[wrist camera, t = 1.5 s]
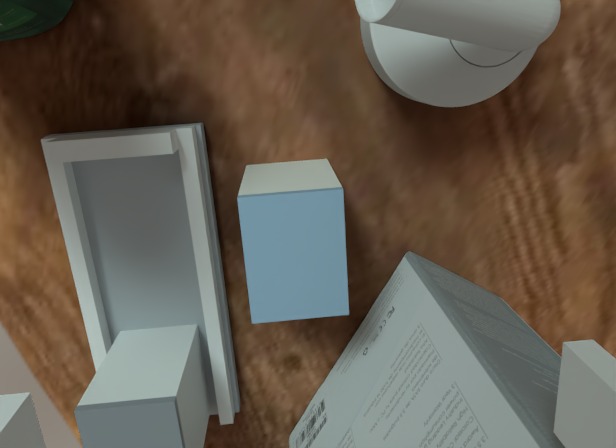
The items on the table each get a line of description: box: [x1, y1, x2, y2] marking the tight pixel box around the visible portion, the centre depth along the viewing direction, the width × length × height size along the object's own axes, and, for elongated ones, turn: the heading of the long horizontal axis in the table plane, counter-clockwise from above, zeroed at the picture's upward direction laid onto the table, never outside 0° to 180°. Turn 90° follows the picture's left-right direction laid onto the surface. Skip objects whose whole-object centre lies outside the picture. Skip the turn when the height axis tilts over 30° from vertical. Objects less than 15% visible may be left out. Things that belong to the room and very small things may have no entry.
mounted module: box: [74, 324, 211, 448], centre depth 26 cm, size 6×4×7 cm
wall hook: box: [355, 0, 561, 107], centre depth 21 cm, size 9×10×10 cm
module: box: [237, 159, 349, 324], centre depth 25 cm, size 6×4×7 cm
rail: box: [41, 123, 240, 425], centre depth 27 cm, size 18×8×3 cm, turn 4°
